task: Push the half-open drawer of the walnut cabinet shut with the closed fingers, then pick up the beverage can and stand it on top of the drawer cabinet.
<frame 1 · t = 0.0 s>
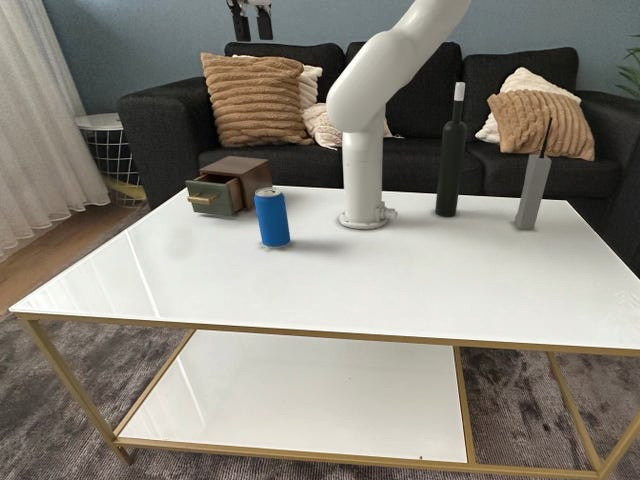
hand: (255, 40, 88), 37 cm above the table, tool pointing down, fingers open, 9 cm apart
vintage mobile phone: (523, 227, 106), on the table
wine bottle: (445, 213, 112), on the table
drawer: (219, 193, 107), point 5 cm above the table, slide at 6.0 cm
cabinet: (242, 200, 117), on the table
beverage can: (277, 245, 95), on the table
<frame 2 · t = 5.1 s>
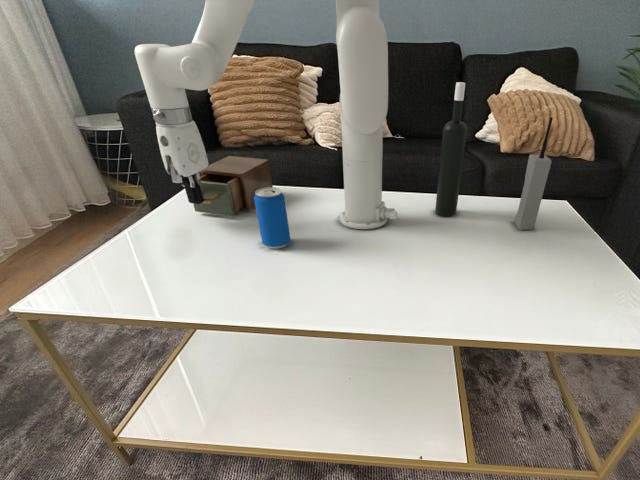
hand: (196, 202, 99), 6 cm above the table, tool pointing down, fingers closed
drawer: (220, 193, 107), point 5 cm above the table, slide at 5.4 cm, touching gripper
everything else where it was.
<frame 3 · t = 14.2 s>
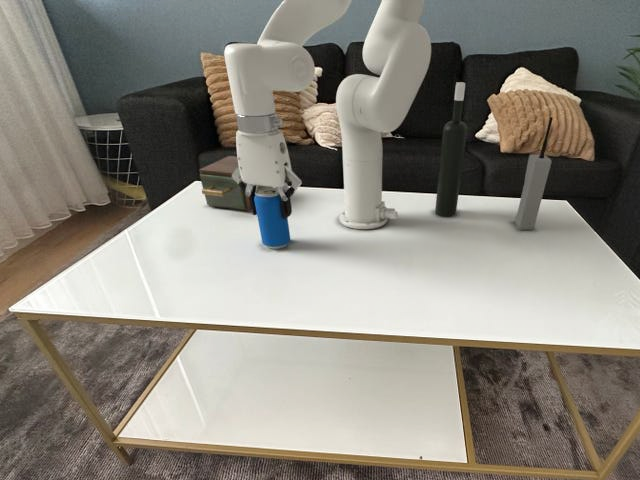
hand: (272, 214, 90), 7 cm above the table, tool pointing down, fingers closed on beverage can, 6 cm apart
drawer: (231, 186, 111), point 5 cm above the table, slide at 0.0 cm, touching cabinet
beverage can: (277, 245, 95), on the table, touching gripper
everything else where it was.
when the fingers open (17 cm above the table, at t = 20.8 s): beverage can stays where it is, resting on cabinet.
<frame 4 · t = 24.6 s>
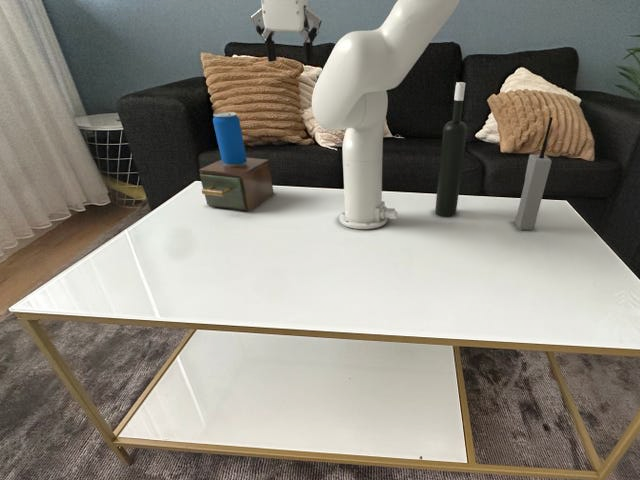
hand: (290, 62, 99), 32 cm above the table, tool pointing down, fingers open, 9 cm apart
beverage can: (235, 165, 111), point 9 cm above the table, touching cabinet
everything else where it was.
at the end: drawer slide at 0.0 cm; beverage can inside the target area on the cabinet (0.1 cm from its centre), point 9.4 cm above the cabinet's base; beverage can tilted 0° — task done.
